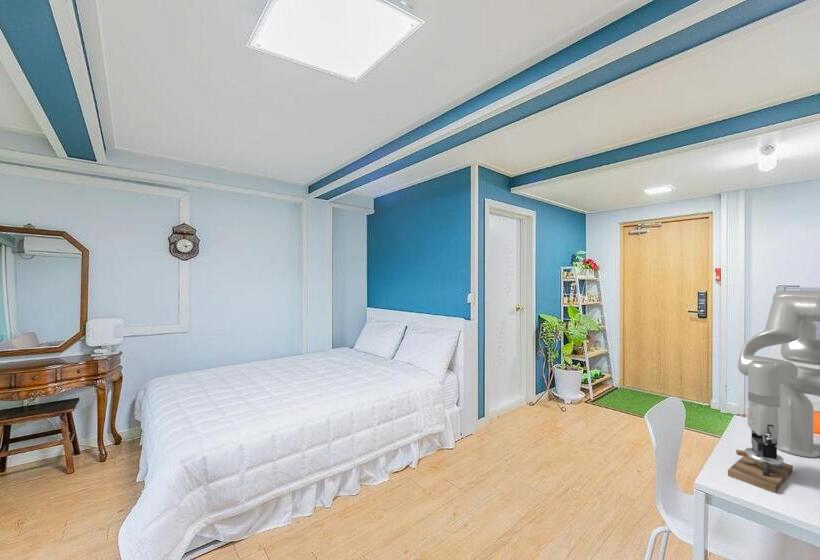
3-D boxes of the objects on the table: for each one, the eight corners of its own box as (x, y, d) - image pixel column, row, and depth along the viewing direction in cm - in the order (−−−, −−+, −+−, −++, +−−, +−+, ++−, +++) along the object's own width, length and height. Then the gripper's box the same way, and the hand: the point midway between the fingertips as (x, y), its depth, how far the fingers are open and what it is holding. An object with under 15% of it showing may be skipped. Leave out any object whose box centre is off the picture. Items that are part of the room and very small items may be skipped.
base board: (748, 457, 126) (748, 440, 126) (792, 471, 116) (793, 453, 116) (727, 475, 115) (727, 457, 114) (775, 493, 105) (775, 473, 105)
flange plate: (775, 455, 117) (775, 438, 117) (789, 469, 109) (789, 450, 109) (732, 448, 123) (732, 431, 123) (741, 460, 115) (741, 442, 115)
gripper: (738, 389, 125) (738, 438, 125) (759, 406, 109) (759, 461, 110) (767, 392, 121) (767, 442, 121) (792, 410, 106) (792, 467, 106)
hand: (763, 451), depth 116 cm, fingers open, 8 cm apart
